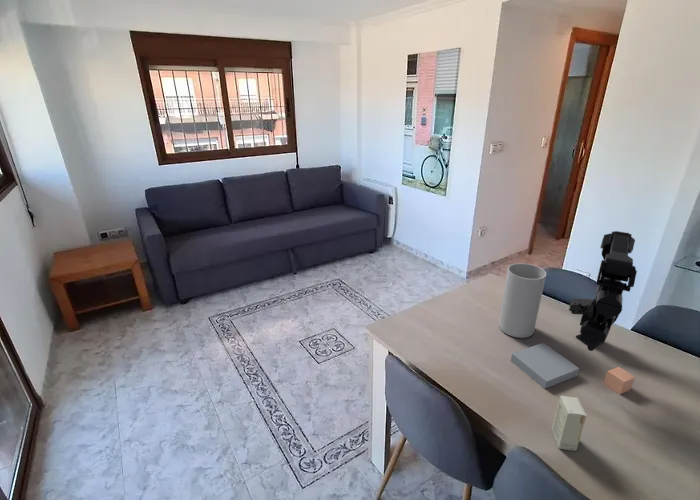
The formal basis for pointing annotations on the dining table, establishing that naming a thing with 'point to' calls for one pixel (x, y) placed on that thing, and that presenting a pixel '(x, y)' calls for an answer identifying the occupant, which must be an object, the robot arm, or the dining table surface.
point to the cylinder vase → (521, 299)
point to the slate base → (544, 365)
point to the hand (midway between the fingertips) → (594, 342)
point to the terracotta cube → (619, 380)
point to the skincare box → (568, 423)
